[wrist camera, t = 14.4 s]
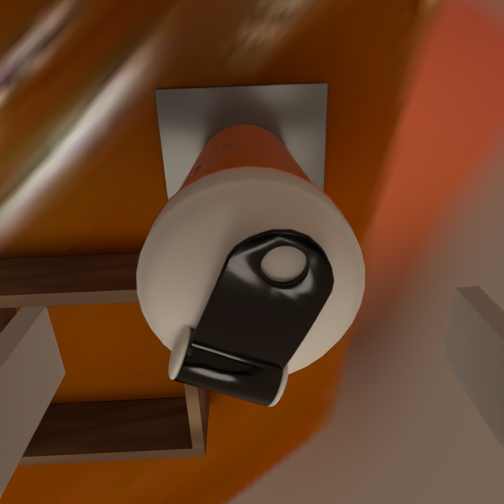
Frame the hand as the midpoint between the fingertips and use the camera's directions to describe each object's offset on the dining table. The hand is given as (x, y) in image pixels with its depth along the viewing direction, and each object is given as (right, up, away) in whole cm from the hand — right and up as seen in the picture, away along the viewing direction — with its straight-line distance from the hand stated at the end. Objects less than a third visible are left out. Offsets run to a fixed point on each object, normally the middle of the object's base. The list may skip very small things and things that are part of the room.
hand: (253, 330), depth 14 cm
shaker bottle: (-1, +9, +18) cm, 20 cm away
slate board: (-1, +9, +18) cm, 20 cm away
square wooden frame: (-13, -5, +25) cm, 28 cm away
